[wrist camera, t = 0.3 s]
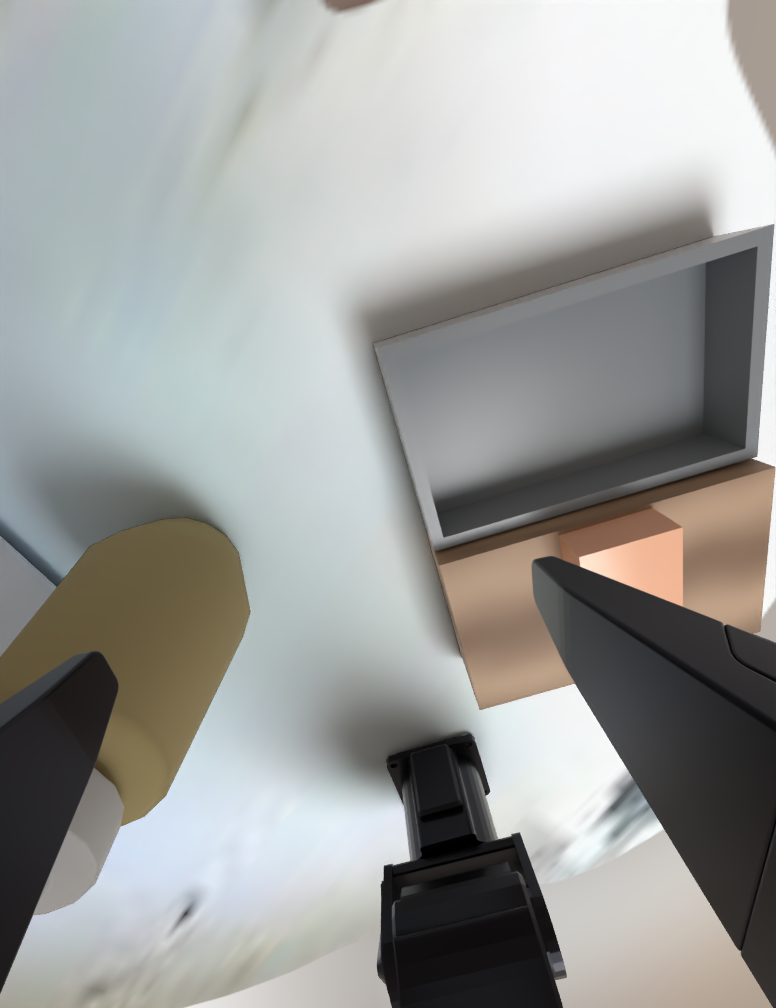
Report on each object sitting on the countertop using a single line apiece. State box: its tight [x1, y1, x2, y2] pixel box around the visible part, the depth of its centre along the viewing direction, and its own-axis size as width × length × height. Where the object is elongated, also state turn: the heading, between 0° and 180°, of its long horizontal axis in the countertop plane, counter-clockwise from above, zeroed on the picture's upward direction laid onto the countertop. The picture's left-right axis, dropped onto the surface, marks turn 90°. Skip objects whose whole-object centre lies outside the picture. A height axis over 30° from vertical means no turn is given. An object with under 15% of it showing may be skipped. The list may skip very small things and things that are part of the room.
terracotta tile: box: [559, 508, 683, 607], centre depth 20 cm, size 4×4×2 cm
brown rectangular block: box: [426, 459, 776, 710], centre depth 24 cm, size 10×16×4 cm, turn 106°
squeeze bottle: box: [0, 518, 250, 915], centre depth 16 cm, size 8×8×18 cm
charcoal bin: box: [373, 224, 774, 552], centre depth 21 cm, size 10×16×3 cm, turn 106°
